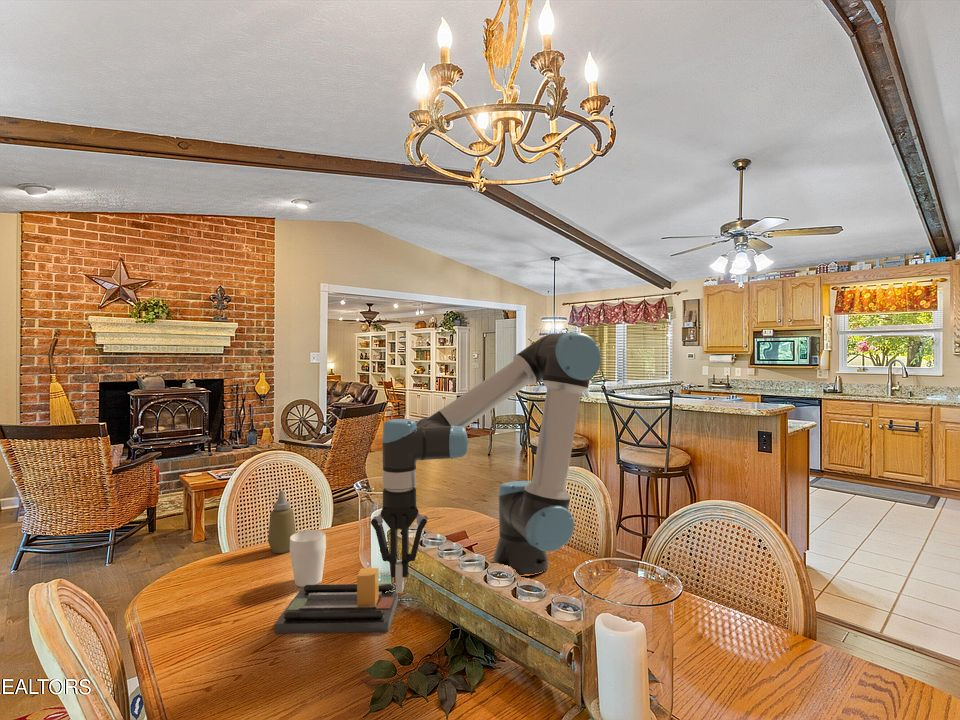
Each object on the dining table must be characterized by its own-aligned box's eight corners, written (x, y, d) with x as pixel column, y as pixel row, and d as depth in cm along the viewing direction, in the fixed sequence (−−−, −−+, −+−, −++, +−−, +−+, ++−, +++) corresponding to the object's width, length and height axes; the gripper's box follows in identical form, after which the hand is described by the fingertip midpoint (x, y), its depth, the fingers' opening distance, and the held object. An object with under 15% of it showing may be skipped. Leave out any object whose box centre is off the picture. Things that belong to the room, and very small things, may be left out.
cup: (332, 574, 133) (331, 529, 133) (318, 590, 124) (317, 542, 124) (300, 573, 134) (299, 529, 134) (283, 589, 125) (282, 541, 125)
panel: (399, 595, 121) (399, 580, 121) (388, 631, 105) (388, 614, 105) (301, 596, 121) (301, 581, 121) (275, 633, 105) (274, 616, 105)
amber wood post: (378, 598, 115) (378, 568, 115) (375, 606, 111) (374, 575, 111) (361, 598, 115) (361, 568, 115) (357, 607, 111) (356, 576, 111)
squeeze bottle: (302, 548, 151) (301, 489, 151) (279, 557, 144) (278, 496, 144) (285, 543, 156) (284, 486, 155) (262, 552, 149) (261, 492, 149)
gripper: (429, 483, 117) (429, 582, 117) (374, 483, 117) (374, 583, 117) (426, 492, 109) (426, 598, 109) (367, 492, 109) (367, 598, 109)
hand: (399, 590), depth 113 cm, fingers closed
